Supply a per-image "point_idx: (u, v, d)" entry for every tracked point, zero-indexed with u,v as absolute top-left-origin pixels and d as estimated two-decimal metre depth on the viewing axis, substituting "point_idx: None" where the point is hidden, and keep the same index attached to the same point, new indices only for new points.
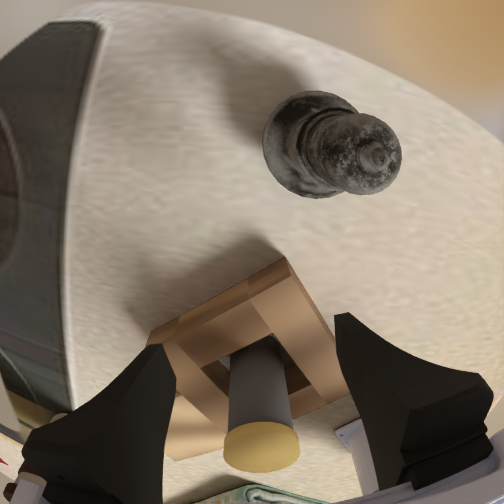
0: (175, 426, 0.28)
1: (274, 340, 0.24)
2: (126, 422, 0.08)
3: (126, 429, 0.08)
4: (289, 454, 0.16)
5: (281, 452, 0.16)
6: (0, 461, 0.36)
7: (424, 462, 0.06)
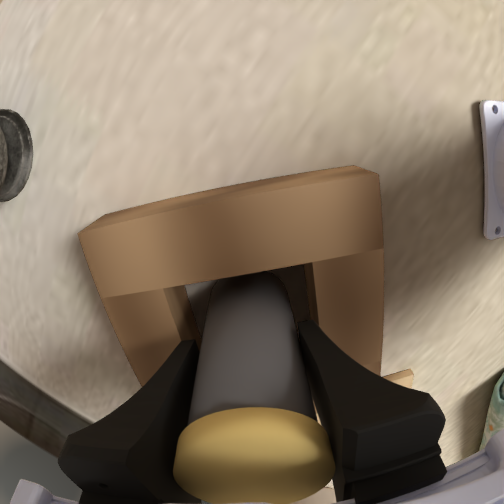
0: None
1: None
2: (169, 422, 0.08)
3: (169, 429, 0.08)
4: (276, 453, 0.07)
5: (259, 461, 0.07)
6: None
7: (368, 481, 0.06)
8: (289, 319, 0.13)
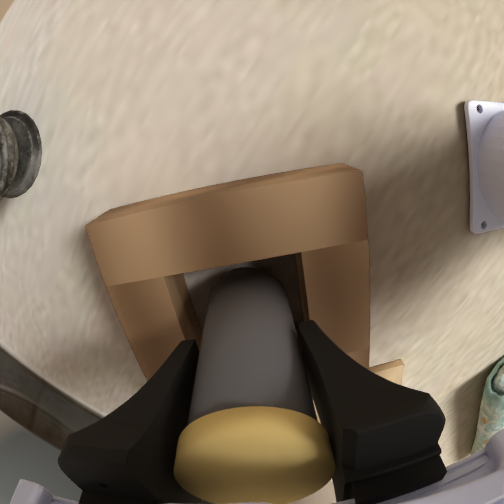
0: None
1: (231, 273, 0.15)
2: (169, 422, 0.08)
3: (169, 429, 0.08)
4: (277, 452, 0.07)
5: (259, 460, 0.07)
6: None
7: (368, 481, 0.06)
8: (288, 319, 0.13)
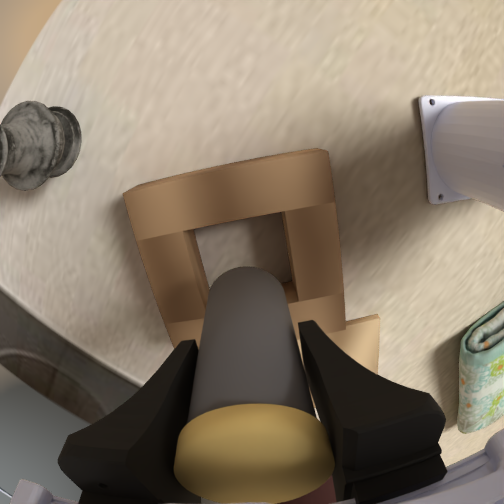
0: None
1: (229, 272, 0.16)
2: (169, 422, 0.08)
3: (169, 429, 0.08)
4: (277, 449, 0.07)
5: (259, 457, 0.07)
6: None
7: (368, 481, 0.06)
8: (287, 317, 0.13)
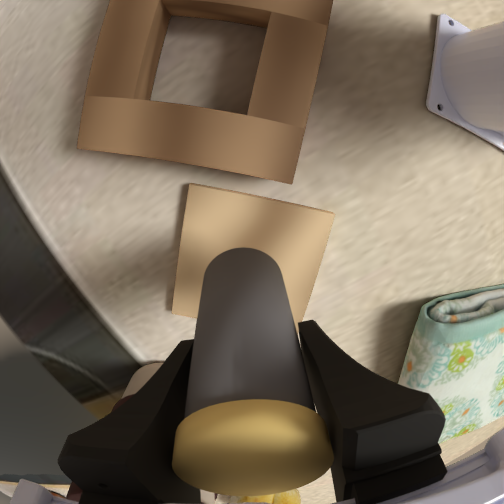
0: None
1: (223, 254, 0.15)
2: (169, 422, 0.08)
3: (169, 429, 0.08)
4: (273, 445, 0.07)
5: (256, 453, 0.07)
6: None
7: (368, 481, 0.06)
8: (283, 300, 0.13)
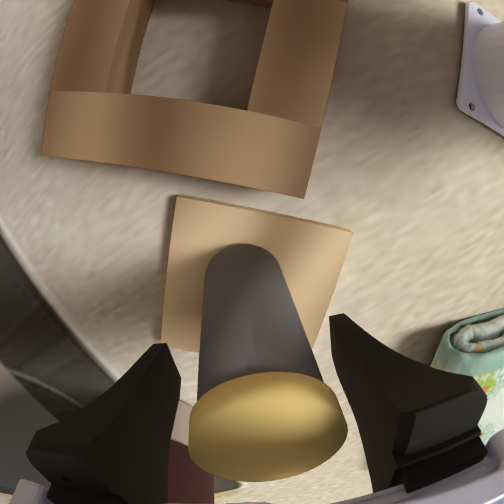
0: None
1: (225, 250, 0.16)
2: (132, 422, 0.08)
3: (132, 429, 0.08)
4: (291, 416, 0.07)
5: (273, 427, 0.07)
6: None
7: (417, 465, 0.06)
8: (286, 290, 0.13)
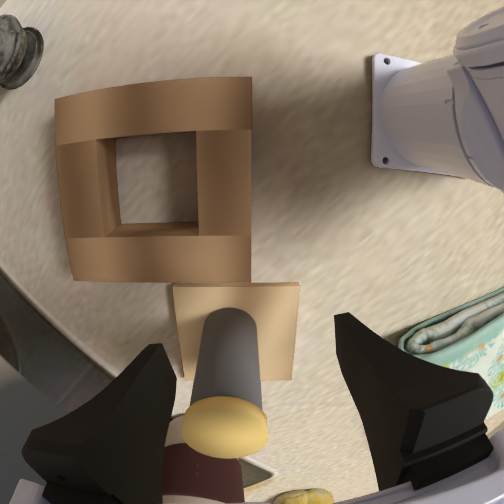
0: None
1: (212, 314, 0.23)
2: (126, 422, 0.08)
3: (126, 429, 0.08)
4: (226, 419, 0.14)
5: (220, 424, 0.14)
6: None
7: (425, 462, 0.06)
8: (247, 341, 0.20)
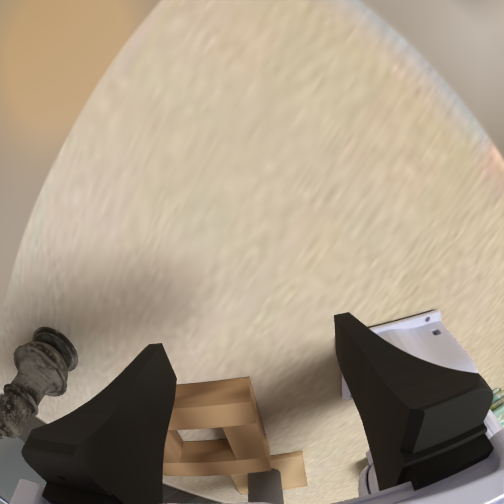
0: None
1: None
2: (126, 422, 0.08)
3: (126, 429, 0.08)
4: None
5: None
6: None
7: (424, 462, 0.06)
8: (274, 491, 0.28)
